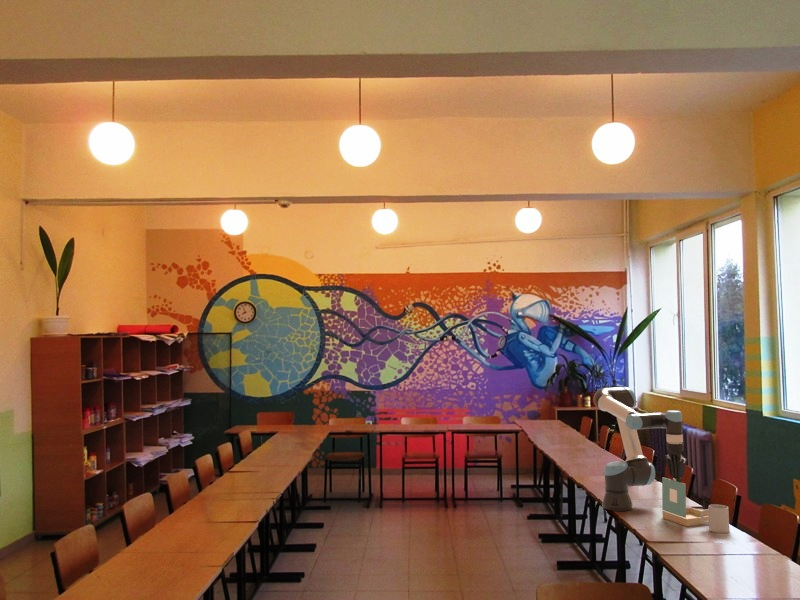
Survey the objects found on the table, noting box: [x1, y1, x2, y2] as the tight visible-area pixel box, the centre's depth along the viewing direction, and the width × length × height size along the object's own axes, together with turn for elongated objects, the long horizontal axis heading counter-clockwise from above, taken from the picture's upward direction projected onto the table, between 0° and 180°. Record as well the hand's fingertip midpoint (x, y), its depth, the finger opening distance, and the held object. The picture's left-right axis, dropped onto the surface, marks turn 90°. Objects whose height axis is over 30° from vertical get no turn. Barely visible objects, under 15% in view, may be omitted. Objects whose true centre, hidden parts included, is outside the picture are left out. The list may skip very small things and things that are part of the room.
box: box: [661, 506, 709, 528], centre depth 333 cm, size 17×17×4 cm
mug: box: [701, 503, 730, 534], centre depth 316 cm, size 12×8×11 cm
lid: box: [661, 477, 687, 518], centre depth 331 cm, size 16×16×1 cm
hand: (676, 491), depth 331 cm, fingers closed
